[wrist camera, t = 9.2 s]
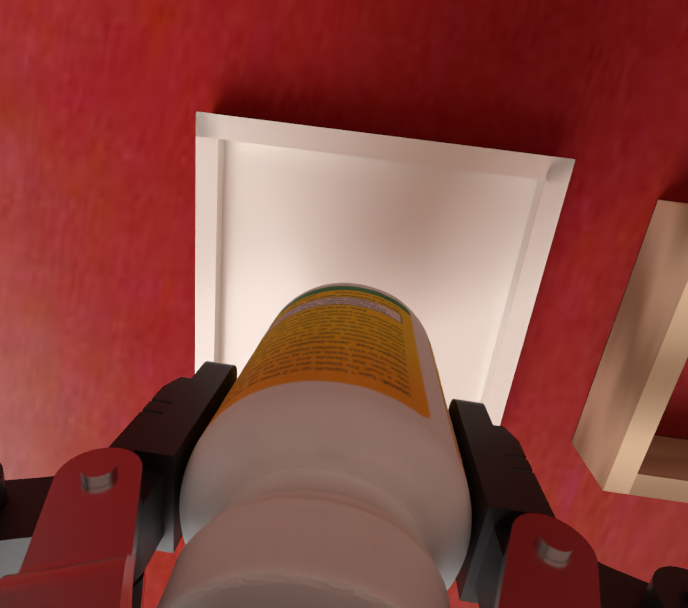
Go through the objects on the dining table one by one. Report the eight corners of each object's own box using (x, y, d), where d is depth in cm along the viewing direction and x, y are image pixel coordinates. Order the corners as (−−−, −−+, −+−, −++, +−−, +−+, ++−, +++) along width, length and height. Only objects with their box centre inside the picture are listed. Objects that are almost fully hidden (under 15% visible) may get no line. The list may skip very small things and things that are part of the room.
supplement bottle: (461, 377, 14) (604, 760, 5) (329, 450, 16) (265, 858, 7) (368, 242, 13) (350, 448, 4) (233, 334, 14) (-5, 641, 5)
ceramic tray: (211, 114, 17) (195, 111, 15) (558, 158, 16) (575, 159, 15) (207, 409, 21) (194, 428, 20) (479, 448, 21) (487, 470, 19)
